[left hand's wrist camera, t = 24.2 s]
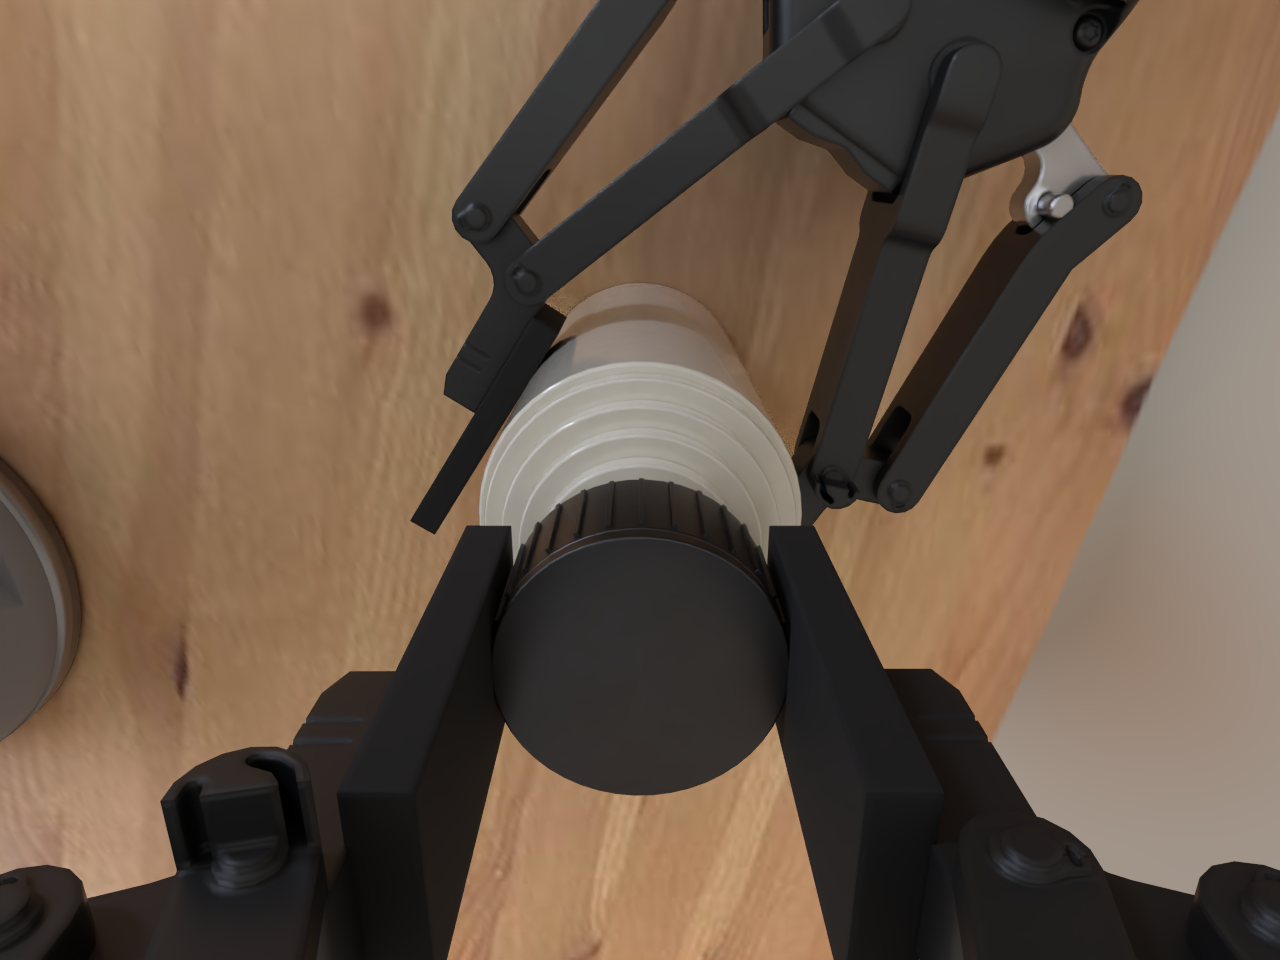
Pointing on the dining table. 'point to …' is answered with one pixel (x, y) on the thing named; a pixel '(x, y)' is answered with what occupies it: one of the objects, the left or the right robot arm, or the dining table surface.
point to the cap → (640, 640)
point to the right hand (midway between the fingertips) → (548, 573)
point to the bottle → (640, 417)
